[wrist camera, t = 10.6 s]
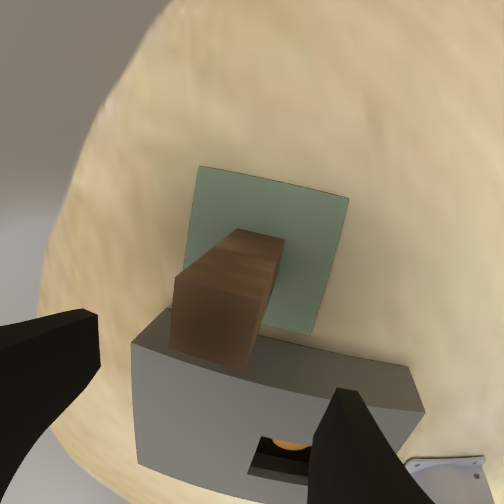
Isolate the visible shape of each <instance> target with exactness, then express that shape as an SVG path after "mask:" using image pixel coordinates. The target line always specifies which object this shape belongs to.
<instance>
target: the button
mask: <svg viewBox="0 0 504 504" xmlns="http://www.w3.org/2000/svg"><path fill="white" fill-rule="evenodd" d="M272 440H273V442H274V443H275V444H276V445H277V446H279V447H281V448H284V449H287V450H300V449H303V448H306V447H308V446H307V445H301V444H296V443H291V442H286V441H281V440H277V439H272Z"/></svg>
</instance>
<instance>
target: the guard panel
mask: <svg viewBox="0 0 504 504" xmlns="http://www.w3.org/2000/svg"><path fill="white" fill-rule="evenodd" d="M171 313H172V310H170V309H167V308H166V309H165V310H164V311H163V312H162V313H160V314H159V315H158V316H157V317H156V318H155V319H154V320H153V321H152V322H151V323H150V324H149V325H148V326H147V327H146V328H145V329H144V330H143V331H142V332H141V333H140V334H139V335H138V336H137V337H136V338H135V339H134V340H133V341H132V342H131V378H132V401H133V416H134V429H135V440H136V450H137V459H138V464H140V465H142V466H145V467H147V468H149V469H152V470H154V471H157V472H159V473H162V474H164V475H167V476H170V477H172V478H175V479H178V480H181V481H184V482H186V483H189V484H192V485H195V486H199V487H202V488H205V489H208V490H212V491H215V492H218V493H222V494H226V495H230V496H233V497H237V498H241V499H246V500H250V501H254V502H259V503H264V504H307V494H308V471H309V463H308V462H302V461H296V460H291V459H286V458H281V457H276V456H271V455H267V454H262V453H258V452H255V451H256V449H257V446H258V443H259V441H260V438H261V436H263V437H268V438H272V439H277V440H281V441H286V442H291V443H296V444H301V445H307V446H312V441H313V435H314V433H315V431H316V429H317V427H318V425H319V423H320V421H321V419H322V417H323V415H324V413H325V411H326V409H327V407H328V405H329V403H330V401H331V399H332V397H333V394H334V392H335V390H336V388H337V387H339V388H344V389H350V390H355V391H358V392H359V394H360V396H361V397H362V399H363V401H364V402H365V404H366V406H367V408H368V409H369V411H370V413H371V414H372V416H373V418H374V420H375V421H376V423H377V425H378V426H379V428H380V430H381V431H382V433H383V435H384V436H385V438H386V439H387V441H388V443H389V444H390V446H391V447H392V449H393V450H394V452H395V453H397V452H398V451H399V449H400V448H401V447H402V445H403V444H404V443H405V441H406V440H407V439H408V437H409V436H410V434H411V433H412V432H413V430H414V429H415V427H416V426H417V424H418V423H419V422H420V420H421V419H422V417H423V416H424V414H425V410H424V407H423V404H422V401H421V399H420V396H419V393H418V391H417V388H416V385H415V383H414V380H413V378H412V375H411V373H410V370H409V368H408V367H406V366H400V365H394V364H388V363H383V362H377V361H372V360H366V359H361V358H356V357H351V356H346V355H341V354H336V353H332V352H327V351H322V350H318V349H313V348H309V347H305V346H300V345H296V344H292V343H288V342H284V341H280V340H276V339H272V338H268V337H264V336H260V335H257V337H256V340H255V343H254V346H253V348H252V351H251V354H250V357H249V360H248V362H247V365H246V368H245V371H244V372H243V371H240V370H236V369H233V368H229V367H226V366H222V365H219V364H216V363H212V362H209V361H206V360H202V359H199V358H196V357H193V356H190V355H187V354H184V353H181V352H178V351H175V350H172V349H169V336H170V324H171Z"/></svg>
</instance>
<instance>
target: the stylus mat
mask: <svg viewBox="0 0 504 504" xmlns="http://www.w3.org/2000/svg"><path fill="white" fill-rule="evenodd" d="M348 202H349V198H345V197H341V196H338V195H334V194H330V193H326V192H322V191H317V190H313V189H309V188H305V187H301V186H296V185H292V184H288V183H283V182H279V181H274V180H269V179H265V178H260V177H255V176H250V175H245V174H240V173H235V172H230V171H224V170H219V169H214V168H208V167H202V166H199V169H198V174H197V180H196V186H195V192H194V198H193V204H192V210H191V217H190V223H189V230H188V237H187V244H186V251H185V259H184V266H183V271H184V270H185V269H186V268H187V267H188V266H190V265H191V264H192V263H194V262H195V261H196V260H197V259H199V258H200V257H201V256H202V255H204V254H205V253H206V252H207V251H209V250H210V249H211V248H212V247H214V246H215V245H216V244H217V243H219V242H220V241H221V240H223V239H224V238H225V237H226V236H228V235H229V234H230V233H231V232H233V231H234V230H235V229H237V228H239V229H243V230H248V231H252V232H256V233H260V234H265V235H269V236H273V237H277V238H281V239H285V243H284V247H283V251H282V256H281V260H280V264H279V268H278V273H277V277H276V281H275V285H274V288H273V291H272V294H271V297H270V300H269V303H268V306H267V309H266V311H265V314H264V317H263V320H262V323H261V324H262V325H266V326H270V327H274V328H278V329H282V330H286V331H290V332H294V333H298V334H303V335H307V336H311V332H312V329H313V326H314V323H315V320H316V317H317V314H318V311H319V307H320V304H321V301H322V298H323V294H324V291H325V288H326V284H327V281H328V277H329V274H330V270H331V267H332V263H333V260H334V256H335V252H336V249H337V245H338V241H339V238H340V234H341V230H342V226H343V222H344V218H345V214H346V210H347V206H348Z"/></svg>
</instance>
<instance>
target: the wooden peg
mask: <svg viewBox="0 0 504 504" xmlns="http://www.w3.org/2000/svg"><path fill="white" fill-rule="evenodd" d="M284 243H285V239H281V238H277V237H273V236H269V235H265V234H260V233H256V232H252V231H248V230H243V229H239V228H237V229H235V230H234V231H233V232H231V233H230V234H229V235H228V236H226V237H225V238H224V239H223V240H221V241H220V242H219V243H217V244H216V245H215V246H214V247H212V248H211V249H210V250H209V251H207V252H206V253H205V254H204V255H202V256H201V257H200V258H199V259H197V260H196V261H195V262H194V263H192V264H191V265H190V266H188V267H187V268H186V269H185V270H184V271H182V272H181V273H180V274H179V275H177V276H176V277H175V284H174V293H173V303H172V313H171V324H170V336H169V349H172V350H175V351H178V352H181V353H184V354H187V355H190V356H193V357H196V358H199V359H202V360H206V361H209V362H212V363H216V364H219V365H222V366H226V367H229V368H233V369H236V370H240V371H243V372H244V371H245V368H246V365H247V362H248V360H249V357H250V354H251V351H252V348H253V346H254V343H255V340H256V337H257V334H258V331H259V329H260V326H261V323H262V320H263V317H264V314H265V311H266V309H267V306H268V303H269V300H270V297H271V294H272V291H273V288H274V285H275V281H276V277H277V273H278V268H279V264H280V260H281V256H282V251H283V247H284Z"/></svg>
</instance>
